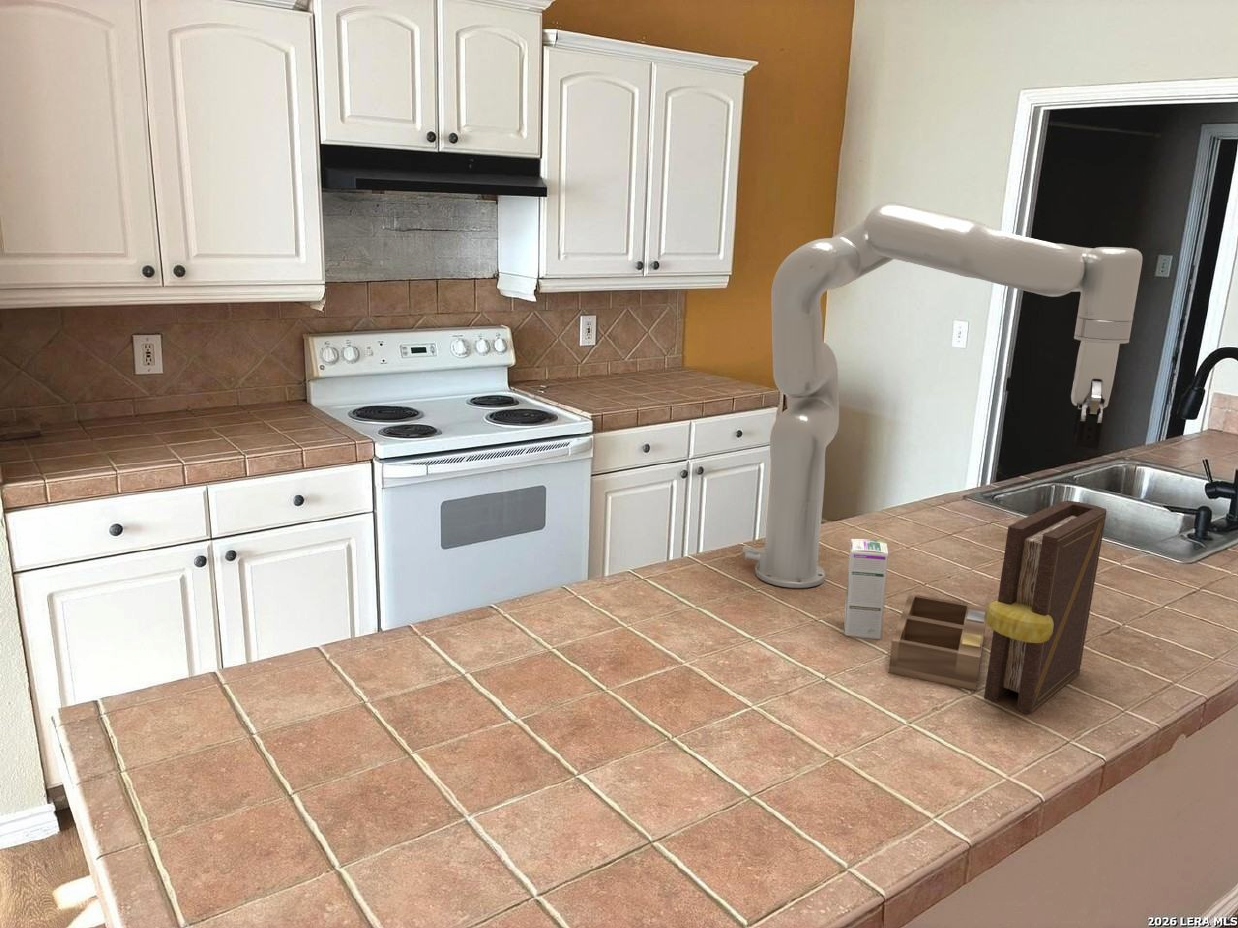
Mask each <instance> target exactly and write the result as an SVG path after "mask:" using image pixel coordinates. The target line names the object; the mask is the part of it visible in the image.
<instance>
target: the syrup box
mask: <svg viewBox="0 0 1238 928" xmlns="http://www.w3.org/2000/svg"><path fill="white" fill-rule="evenodd" d="M888 562H889V550H888V544H887V541H884V540H878V539H870V538H851V539H850V547H849V557H848V566H847V567H848V568H847V579H846V580H847V581H846V583H847V584H846V593H845V595H846V596H845V602H844V603H845V605H844V606H845V607H844V619H843V623H844V624H843V626H844V636H846V637H854V638H860V639H871V640H881V639H882V631H883V624H884V623H883V621H884V612H885V611H884V610H885V602H886V601H885V600H886V587H887V576H888V566H889V565H888V564H889V563H888Z"/></svg>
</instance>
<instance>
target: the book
mask: <svg viewBox="0 0 1238 928" xmlns="http://www.w3.org/2000/svg"><path fill="white" fill-rule="evenodd" d="M1107 512H1108V511H1107V509H1106V508H1103V507H1101V506H1098V505H1093V504H1090V503H1085V502H1081V501H1076V500H1075V501H1074V500H1059V502H1056V503H1054V504H1052V505H1050V506H1048V507H1046V508H1043V509H1042V510H1039V511H1037V512H1035V513H1033V514H1031V515H1028V516H1027V517H1024V518H1022V519H1020V520H1018V521H1016V522H1013V523H1012V524H1010V525H1008V526H1007V534H1006V540H1005V549H1004V555H1003V563H1002V569H1001V570H1002V571H1001V575H1000V576H1001V577H1000V581H999V582H1000V583H999V589H998V590H999V591H998V598H997V600H994V601H992V602H990V604H989V605H988V606H987V607H988V609H987V615H986V624H987V625H988V626H989V628H990V629H992V630H993V632H992V639H991V645H990V653H989V659H988V667H987V675H986V681H985V682H986V683H985V689H984V695H983V697H984V699H985V700H987V701H990V702H992V703H998V702H999V701H1001V700H1002V699H1003V698H1005V697H1006V696H1007V695H1009V694H1010V693H1012V692H1015V693H1017V694H1018V698H1017V705H1016V710H1015V711H1017V712H1018V713H1021V714H1023V715H1026V716H1031V715H1032V713H1034V712H1035V711H1037V710H1038V709H1039V708H1041V706H1043V705H1044V704H1045V703H1046V702H1047V701H1049V700H1050V699H1052V697H1054V696H1055V695H1056V694H1057V693H1058V692H1061V690H1062V689H1064V688H1065V687H1066V686H1067V685H1068V684H1070V683H1071V682H1072V681H1074V680H1075V679H1076V678H1077V677H1079V676H1080V673H1081V666H1082V659H1083V652H1084V646H1085V642H1086V635H1087V630H1088V623H1089V618H1090V611H1091V606H1092V600H1093V594H1094V589H1095V582H1096V576H1097V570H1098V564H1099V559H1100V553H1101V547H1102V541H1103V536H1104V535H1103V534H1104V530H1105V529H1104V528H1105V524H1106V518H1107V517H1106V516H1107Z"/></svg>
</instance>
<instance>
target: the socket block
mask: <svg viewBox="0 0 1238 928" xmlns="http://www.w3.org/2000/svg"><path fill="white" fill-rule="evenodd" d="M905 601H906V602H905V603H904V606H903V609H902V612H901V614H900V617H899V620H898V623H897V626H896V628H895V631H894V633H893V635H892V636H893V637H892V639H891V644H890V645H891V646H890V654H889V664H888V673H891V674H896V675H900V676H904V677H909V678H915V679H920V680H925V681H930V682H935V683H939V684H943V685H949V686H954V687H958V688H962V689H968V690H972V691H977V686H978V678H979V673H980V672H979V671H980V666H981V658H982V651H983V645H984V639H985V630H986V625H987V620H986V615H987V609H988V607H989V606H982V605H977V604H971V603H965V602H959V601H955V600H948V599H944V598H943V599H942V598H937V597H931V596H925V595H920V594H913V593H908V596H907V599H906V600H905Z"/></svg>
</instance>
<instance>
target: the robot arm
mask: <svg viewBox="0 0 1238 928" xmlns="http://www.w3.org/2000/svg"><path fill="white" fill-rule="evenodd" d="M893 260H897V261H901V262H905V263H910V264H914V265H919V266H922V267H927V268H931V269H934V270H938V271H941V272H942V271H943V272H946V273H950V274H954V275H958V276H960V277H964V278H970V279H976V280H977V279H978V280H982V281H986V282H989V283H993V284H997V285H1001V286H1004V287H1009V288H1013V289H1017V290H1021V291H1025V292H1029V293H1034V294H1036V295H1041V296H1046V297H1052V298H1053V297H1055V298H1056V297H1063V296H1065V295H1067V294H1070V293H1071V292H1072V293H1073V292H1076V293H1077V292H1080V297H1079V304H1078V311H1077V316H1076V323H1075V328H1074V329H1075V331H1074V336H1073V339H1074V340H1077V341H1080V345H1079V348H1078V353H1077V358H1076V366H1075V370H1074V375H1073V381H1072V382H1073V383H1072V389H1071V394H1070V399H1071V403H1072V405H1074V406H1075V407H1076V406H1078V407H1077V408H1076V412H1075V417H1074V423H1073V430H1072V431H1073V434H1074V435H1075V442H1074V445H1075V447H1077V448H1086V449H1095V450H1096V449H1098V448H1099V447H1100V442H1101V441H1100V440H1101V434H1102V429H1103V422H1102V421H1103V420H1102V419H1103V412H1104V411H1103V410H1104V409H1105V408H1107V407H1108V406H1109V402H1110V397H1111V393H1112V389H1113V385H1114V380H1115V374H1116V369H1117V368H1116V367H1117V362H1118V358H1119V350H1120V345H1122V344H1129V343H1130V337H1131V332H1132V325H1133V320H1134V313H1135V308H1136V302H1137V296H1138V295H1137V294H1138V289H1139V283H1140V277H1141V271H1142V265H1143V255H1142V253H1141V251H1139V249H1136V248H1133V247H1129V248H1128V247H1115V246H1113V247H1111V246H1109V247H1108V246H1101V247H1100V246H1099V247H1095V248H1091V247H1083V246H1076V245H1071V244H1065V243H1054V242H1050V241H1046V240H1040V239H1036V238H1032V237H1028V236H1022V235H1020V234H1015V233H1012V232H1008V231H1003V230H1000V229H997V228H993V227H991V226H989V225H986V224H984V223H982V222H979V221H976V220H973V219H969V218H965V217H960V216H957V215H951V214H947V213H944V212H943V213H941V212H937V211H933V210H929V209H924V208H920V207H915V206H911V205H908V204H904V203H898V202H884V203H881V204H878V205H876V206H875V207H874V208H872V209H871V210H870V211H869V213H868V214H867V216H866V217H865V219H864V220H862V221H860V222H858V223H857V224H854V225H852V226H851V227H849V228H847V229H846V230H843V231H842V232H840V233H838V234H836V235H835V236H833V237H831V238H829V237H826V238H818V239H815V240H812V241H809V242H806V243H805V244H803V245H802V246H799V247H798V248H797V249H795V250H794V251H793V252H790V254H789V255H787V257H786V258H784V260H783V261H782V263H781V264H780V266H778V269H777V270H776V273H775V274H774V277H773V281H772V284H771V285H772V286H771V295H770V297H771V299H770V301H771V303H770V304H771V340H772V341H771V344H772V375H773V381H774V384H775V385H776V388H777V389H778V391H779V392H780V393H782V394H783V395H785V396H786V407H787V409H786V408H785V409H784V411H782V412H781V413H780V414H779V415H778V416H777V418H776V419H775V421H774V423H773V424H772V428H771V431H770V435H769V453H770V454H769V455H770V456H769V457H770V459H769V460H770V470H769V471H770V473H769V474H770V475H769V476H770V478H769V490H768V493H769V494H768V507H767V516H766V517H767V519H766V531H765V532H766V534H765V545H764V546H761V547H760V548H759V547H758V548H757V547H754V546H749V545H743V547H742V550H741V551H742V552H741V553H742V554H741V555H742V556H744V559H745V560H746V561H754V562H757V564H756V565H755V567H754V573H755V575H756V576H757V578H758V579H760V580H761V581H763V582H765V583H767V584H771V585H774V586H777V587H783V588H791V589H806V588H813V587H817V586H818V585H820V584H822V583H824V581H825V580H826V571H825V569H824V568H822V566H820V565H818V562H819V561H818V560H819V552H820V551H819V548H820V539H821V538H820V537H821V527H822V515H823V505H824V504H823V503H824V494H825V493H824V490H825V477H826V476H825V475H826V472H825V471H826V461H825V460H826V449H827V447H828V445H829V444H830V443H831V442H832V441H833V440H834V439H835V436H836V434H837V433H838V430H839V426H840V425H839V424H840V403H839V402H840V399H839V372H838V371H839V369H838V362H837V358H836V355H835V353H834V351H833V350H832V348H831V347H830V345H828V344H827V343H826V342H824V339H823V314H822V308H821V306H822V305H821V300H822V297H823V296H822V295H823V294H824V293H826V292H827V291H829V290H834V289H837V288H842V287H844V286H847V285H848V284H850V283H852V282H854V281H856V280H857V279H858V280H859V279H860V278H862V277H863V276H865V275H867V274H869V273H871V272H873V271H874V270H877V269H879V268H881V267H882V266H884V265H886V264H888V263H890V262H892V261H893Z"/></svg>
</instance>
